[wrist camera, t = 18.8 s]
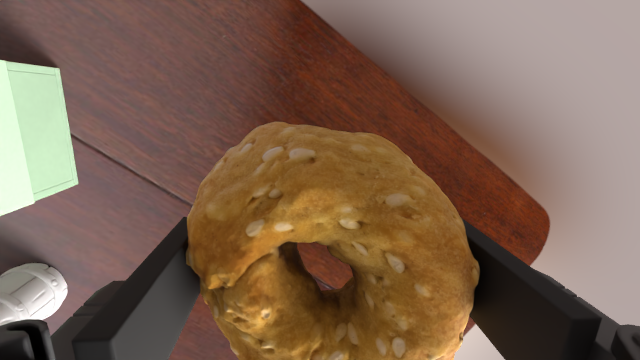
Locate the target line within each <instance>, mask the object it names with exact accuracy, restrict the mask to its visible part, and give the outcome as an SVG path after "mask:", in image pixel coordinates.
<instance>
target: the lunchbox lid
mask: <svg viewBox="0 0 640 360" xmlns="http://www.w3.org/2000/svg"><path fill="white" fill-rule="evenodd" d="M33 203H35V202H34V197H33V192H32V187H31V183H30V178H29V173H28V168H27V163H26V158H25V153H24V149H23V144H22V139H21V134H20V129H19V124H18V120H17V115H16V110H15V105H14V100H13V95H12V90H11V86H10V81H9V76H8V71H7V66H6V61H5V60H0V216H1V215H4V214H6V213H9V212H12V211H14V210H17V209H20V208H22V207H25V206H28V205H31V204H33Z"/></svg>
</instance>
